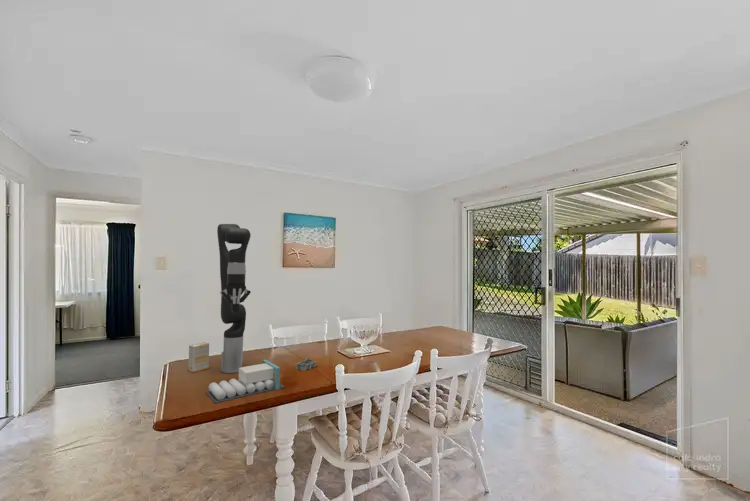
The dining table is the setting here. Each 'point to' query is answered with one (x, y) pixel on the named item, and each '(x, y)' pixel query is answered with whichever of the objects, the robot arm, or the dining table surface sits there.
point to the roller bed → (238, 389)
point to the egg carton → (305, 364)
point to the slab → (255, 373)
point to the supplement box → (198, 357)
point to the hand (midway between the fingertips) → (235, 312)
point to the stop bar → (275, 371)
